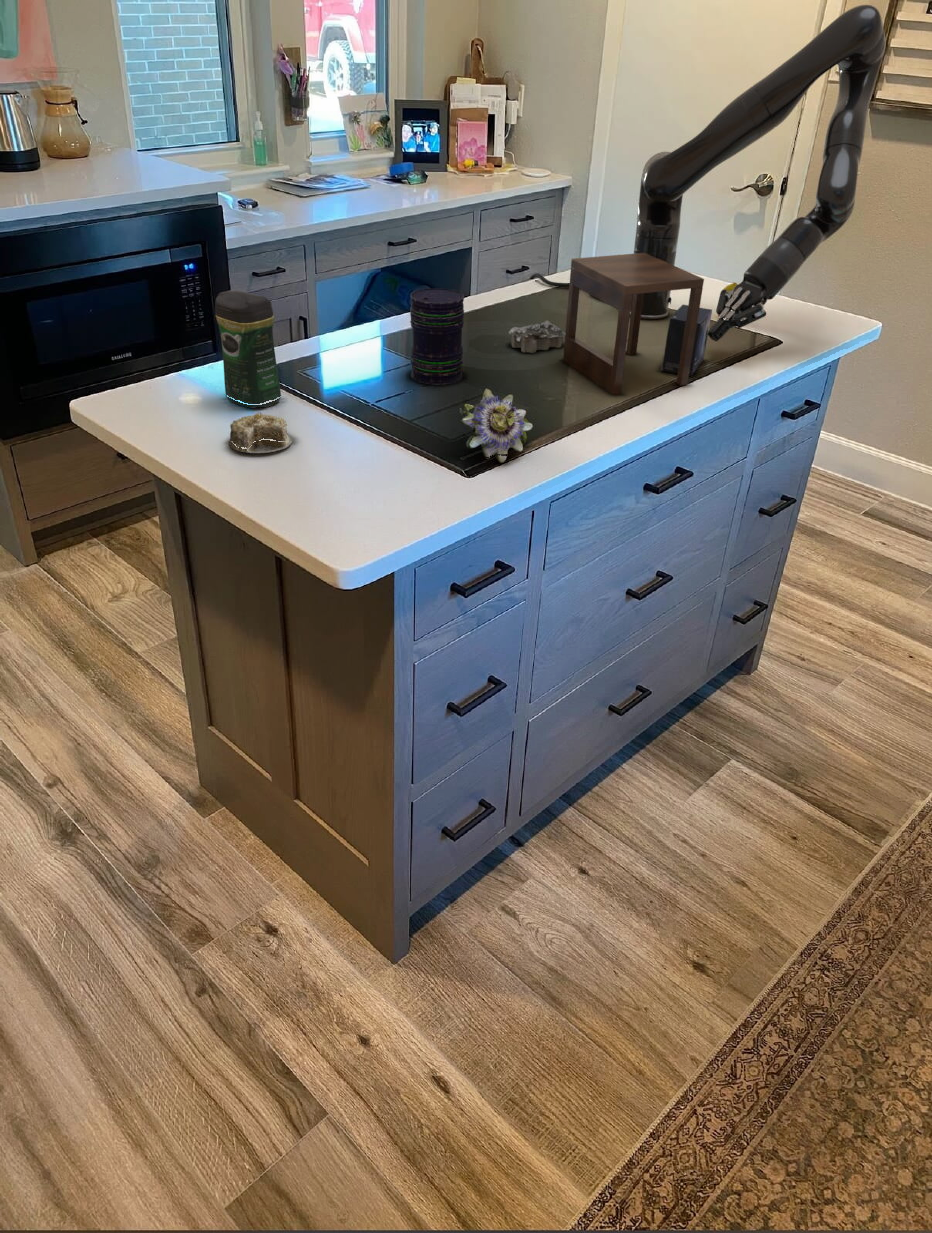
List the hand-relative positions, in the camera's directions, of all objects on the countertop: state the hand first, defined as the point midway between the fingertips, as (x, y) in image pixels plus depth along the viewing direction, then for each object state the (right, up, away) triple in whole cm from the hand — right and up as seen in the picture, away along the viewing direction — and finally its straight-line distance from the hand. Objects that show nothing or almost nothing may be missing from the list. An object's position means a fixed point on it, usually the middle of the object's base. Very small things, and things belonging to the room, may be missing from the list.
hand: (711, 337), depth 187 cm
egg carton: (-34, +1, +9) cm, 35 cm away
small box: (-6, -6, 0) cm, 8 cm away
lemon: (+11, +12, +28) cm, 32 cm away
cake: (-82, -28, -35) cm, 93 cm away
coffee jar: (-86, -17, -20) cm, 90 cm away
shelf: (-18, -8, -4) cm, 20 cm away
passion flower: (-44, -29, -35) cm, 64 cm away
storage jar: (-54, -10, -7) cm, 56 cm away
